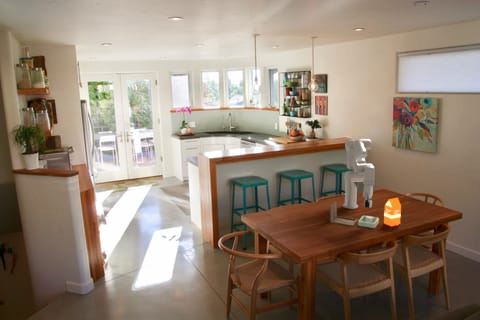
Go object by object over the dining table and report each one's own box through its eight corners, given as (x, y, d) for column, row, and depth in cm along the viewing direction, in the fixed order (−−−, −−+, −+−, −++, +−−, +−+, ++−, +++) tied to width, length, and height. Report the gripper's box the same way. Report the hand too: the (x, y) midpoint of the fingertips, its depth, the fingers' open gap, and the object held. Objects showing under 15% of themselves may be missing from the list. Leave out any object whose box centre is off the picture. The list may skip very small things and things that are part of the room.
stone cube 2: (365, 205, 295) (365, 199, 295) (371, 206, 293) (371, 200, 292) (363, 206, 292) (364, 201, 291) (370, 207, 289) (370, 201, 288)
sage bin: (362, 220, 306) (363, 215, 306) (378, 223, 300) (379, 218, 299) (358, 226, 295) (358, 221, 294) (374, 229, 289) (374, 223, 288)
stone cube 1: (367, 221, 303) (367, 215, 302) (373, 222, 300) (373, 216, 299) (365, 223, 299) (365, 217, 298) (371, 224, 297) (371, 218, 296)
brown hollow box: (335, 217, 314) (336, 201, 311) (357, 221, 305) (358, 204, 302) (329, 223, 302) (330, 206, 299) (352, 227, 293) (352, 209, 290)
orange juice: (383, 223, 300) (385, 198, 296) (392, 221, 303) (393, 196, 299) (391, 226, 293) (392, 200, 289) (400, 224, 296) (401, 199, 292)
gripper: (366, 179, 298) (365, 202, 301) (360, 184, 284) (359, 208, 287) (376, 180, 294) (375, 203, 297) (371, 185, 280) (370, 210, 283)
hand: (367, 206), depth 292 cm, fingers closed on stone cube 2, 4 cm apart
